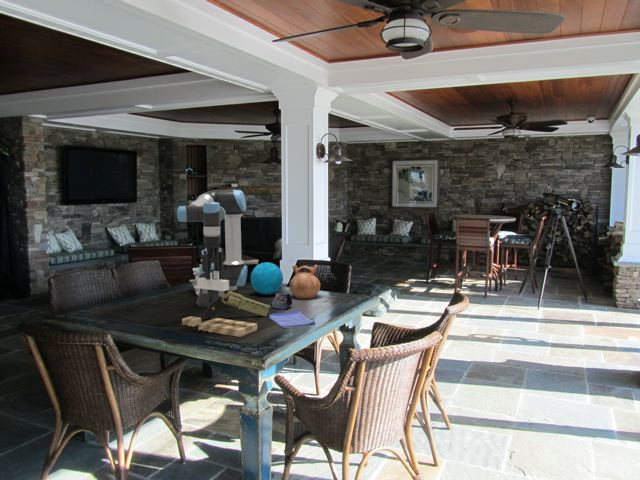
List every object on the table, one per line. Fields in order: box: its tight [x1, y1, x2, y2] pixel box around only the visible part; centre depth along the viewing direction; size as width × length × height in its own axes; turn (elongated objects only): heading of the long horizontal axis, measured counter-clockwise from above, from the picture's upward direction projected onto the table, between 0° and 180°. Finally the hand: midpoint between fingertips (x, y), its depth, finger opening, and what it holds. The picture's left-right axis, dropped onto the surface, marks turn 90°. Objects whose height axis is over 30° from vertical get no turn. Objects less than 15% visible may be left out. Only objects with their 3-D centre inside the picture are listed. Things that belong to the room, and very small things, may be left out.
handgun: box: [203, 290, 271, 320], centre depth 270 cm, size 4×30×16 cm, turn 103°
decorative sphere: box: [250, 261, 284, 296], centre depth 327 cm, size 20×20×20 cm
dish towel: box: [268, 310, 316, 329], centre depth 263 cm, size 17×24×3 cm
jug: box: [289, 264, 321, 300], centre depth 319 cm, size 18×18×20 cm
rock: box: [272, 292, 293, 310], centre depth 292 cm, size 11×10×10 cm
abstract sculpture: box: [189, 258, 238, 297], centre depth 335 cm, size 23×23×30 cm
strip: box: [197, 278, 230, 296], centre depth 247 cm, size 16×4×7 cm, turn 59°
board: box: [197, 317, 258, 338], centre depth 246 cm, size 24×13×3 cm, turn 61°
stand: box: [181, 316, 202, 327], centre depth 256 cm, size 7×6×3 cm
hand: (213, 285), depth 247 cm, fingers closed on strip, 4 cm apart
